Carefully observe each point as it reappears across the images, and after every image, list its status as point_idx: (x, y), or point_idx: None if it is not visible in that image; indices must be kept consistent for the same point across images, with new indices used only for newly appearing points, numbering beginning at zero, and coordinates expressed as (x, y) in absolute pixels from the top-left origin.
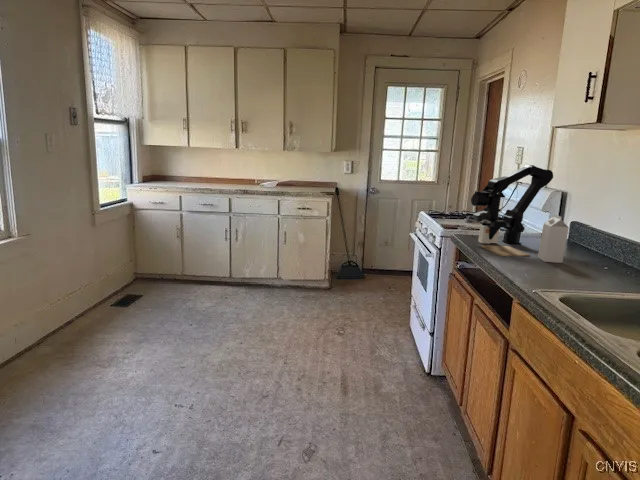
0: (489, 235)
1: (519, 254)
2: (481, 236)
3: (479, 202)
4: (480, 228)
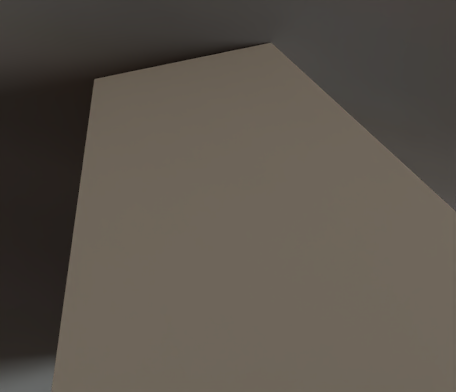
0: None
1: None
2: (156, 139)
3: None
4: (451, 289)
